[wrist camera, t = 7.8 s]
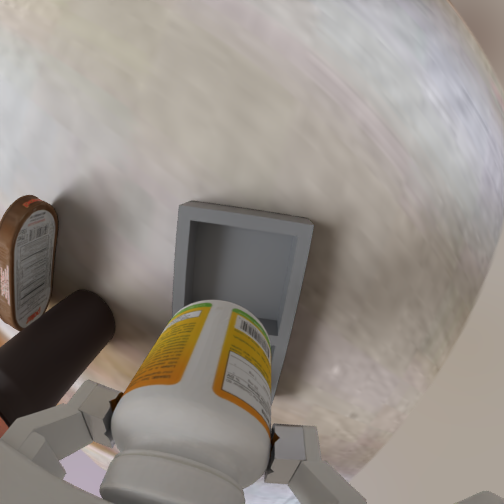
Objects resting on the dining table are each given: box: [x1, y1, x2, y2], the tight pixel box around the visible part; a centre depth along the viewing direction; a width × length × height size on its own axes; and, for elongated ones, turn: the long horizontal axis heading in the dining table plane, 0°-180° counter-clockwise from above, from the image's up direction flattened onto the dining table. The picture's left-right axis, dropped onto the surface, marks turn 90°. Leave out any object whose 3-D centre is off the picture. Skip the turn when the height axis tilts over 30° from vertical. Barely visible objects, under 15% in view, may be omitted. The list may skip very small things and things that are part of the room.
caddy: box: [172, 201, 314, 405], centre depth 25 cm, size 20×10×4 cm, turn 172°
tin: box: [0, 195, 58, 331], centre depth 23 cm, size 15×3×8 cm, turn 159°
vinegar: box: [0, 290, 115, 438], centre depth 18 cm, size 7×7×20 cm
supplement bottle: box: [100, 300, 271, 504], centre depth 9 cm, size 5×5×10 cm
